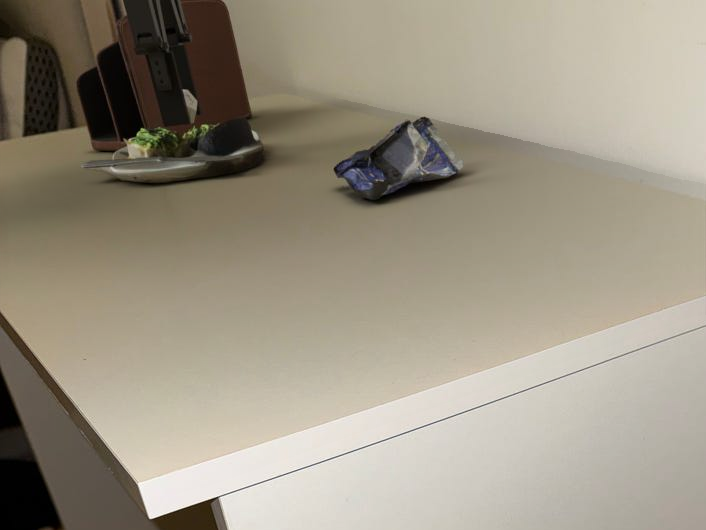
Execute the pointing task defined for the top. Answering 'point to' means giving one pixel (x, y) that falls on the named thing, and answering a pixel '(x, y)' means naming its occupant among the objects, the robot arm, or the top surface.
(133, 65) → the letter holder
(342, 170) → the snack package
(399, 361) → the top surface
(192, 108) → the game die
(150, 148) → the salad plate
